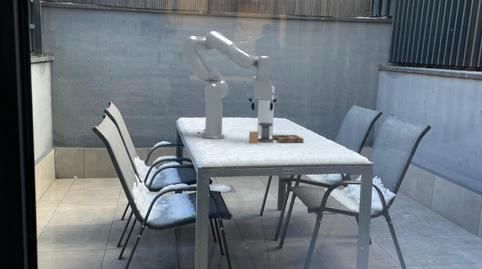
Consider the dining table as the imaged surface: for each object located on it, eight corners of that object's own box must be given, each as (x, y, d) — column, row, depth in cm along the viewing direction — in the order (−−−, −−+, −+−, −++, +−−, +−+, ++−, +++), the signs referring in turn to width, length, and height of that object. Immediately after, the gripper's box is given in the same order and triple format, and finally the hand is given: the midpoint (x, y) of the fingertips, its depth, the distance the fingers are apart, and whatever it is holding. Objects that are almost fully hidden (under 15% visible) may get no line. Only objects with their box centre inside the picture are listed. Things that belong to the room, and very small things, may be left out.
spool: (259, 142, 249) (259, 124, 248) (255, 139, 258) (255, 122, 257) (275, 142, 251) (275, 124, 250) (270, 139, 260) (271, 122, 258)
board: (279, 143, 249) (279, 138, 249) (271, 139, 263) (272, 134, 262) (303, 142, 252) (303, 138, 252) (295, 139, 266) (295, 134, 265)
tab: (250, 143, 245) (251, 132, 244) (249, 142, 249) (249, 131, 248) (257, 143, 246) (258, 132, 245) (256, 142, 250) (256, 131, 249)
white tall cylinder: (273, 136, 273) (275, 86, 269) (257, 136, 273) (259, 85, 269) (272, 134, 282) (274, 85, 278) (257, 133, 282) (258, 85, 278)
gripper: (247, 78, 243) (246, 110, 245) (280, 79, 244) (278, 111, 247) (246, 78, 250) (245, 109, 253) (277, 79, 252) (276, 110, 254)
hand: (262, 110), depth 250 cm, fingers open, 9 cm apart
